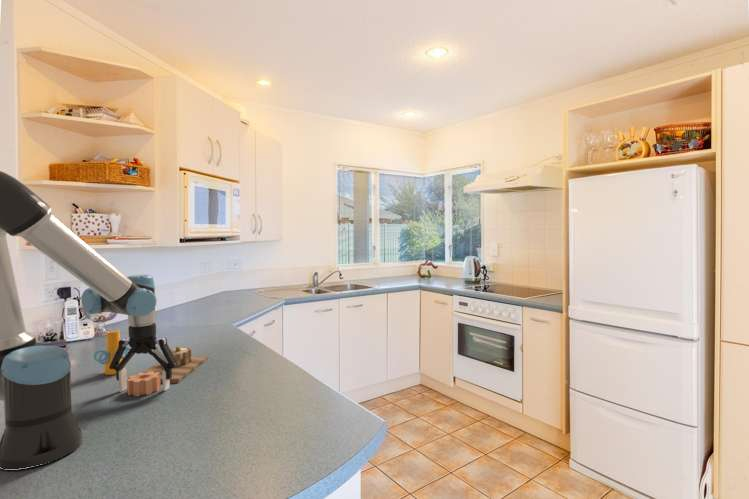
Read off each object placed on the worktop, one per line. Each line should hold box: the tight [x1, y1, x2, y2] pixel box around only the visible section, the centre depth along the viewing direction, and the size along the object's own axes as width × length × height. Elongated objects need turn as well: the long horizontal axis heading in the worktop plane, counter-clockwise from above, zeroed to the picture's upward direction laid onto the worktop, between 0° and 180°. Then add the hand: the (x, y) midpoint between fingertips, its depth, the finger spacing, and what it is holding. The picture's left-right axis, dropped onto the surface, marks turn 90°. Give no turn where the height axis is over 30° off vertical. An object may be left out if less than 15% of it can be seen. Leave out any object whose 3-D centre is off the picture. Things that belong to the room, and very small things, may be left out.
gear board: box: [141, 345, 208, 384], centre depth 144 cm, size 24×16×7 cm, turn 1°
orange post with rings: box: [93, 329, 131, 376], centre depth 142 cm, size 12×10×15 cm
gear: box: [127, 372, 161, 397], centre depth 126 cm, size 9×9×4 cm
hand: (144, 389), depth 126 cm, fingers open, 13 cm apart
